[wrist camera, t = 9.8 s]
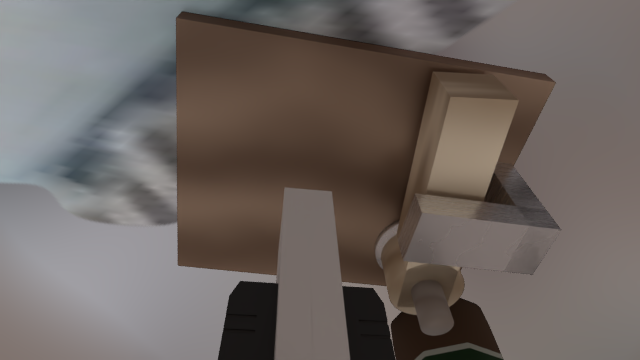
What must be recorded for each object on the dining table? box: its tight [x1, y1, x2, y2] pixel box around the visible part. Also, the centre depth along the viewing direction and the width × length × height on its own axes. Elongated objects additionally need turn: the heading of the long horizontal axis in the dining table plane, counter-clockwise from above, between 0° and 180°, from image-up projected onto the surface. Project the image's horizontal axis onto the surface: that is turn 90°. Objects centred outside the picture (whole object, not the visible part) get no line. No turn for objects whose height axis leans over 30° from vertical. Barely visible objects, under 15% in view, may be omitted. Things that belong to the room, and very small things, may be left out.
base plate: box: [176, 12, 556, 286], centre depth 26 cm, size 16×19×1 cm
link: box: [381, 72, 519, 336], centre depth 23 cm, size 14×4×5 cm, turn 176°
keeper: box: [375, 162, 561, 275], centre depth 25 cm, size 10×7×6 cm
